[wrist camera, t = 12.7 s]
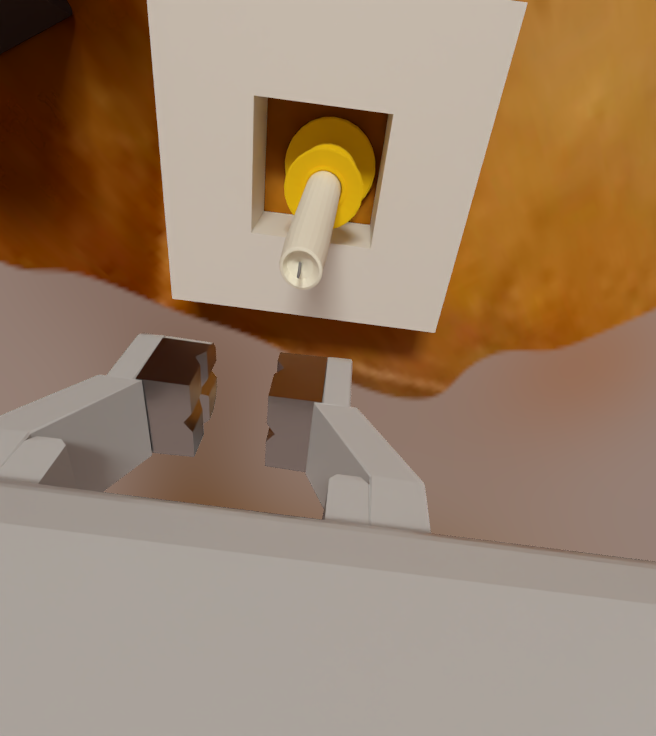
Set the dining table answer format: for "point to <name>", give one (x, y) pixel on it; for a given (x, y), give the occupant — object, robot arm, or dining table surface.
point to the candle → (322, 192)
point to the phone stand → (28, 19)
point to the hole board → (333, 88)
